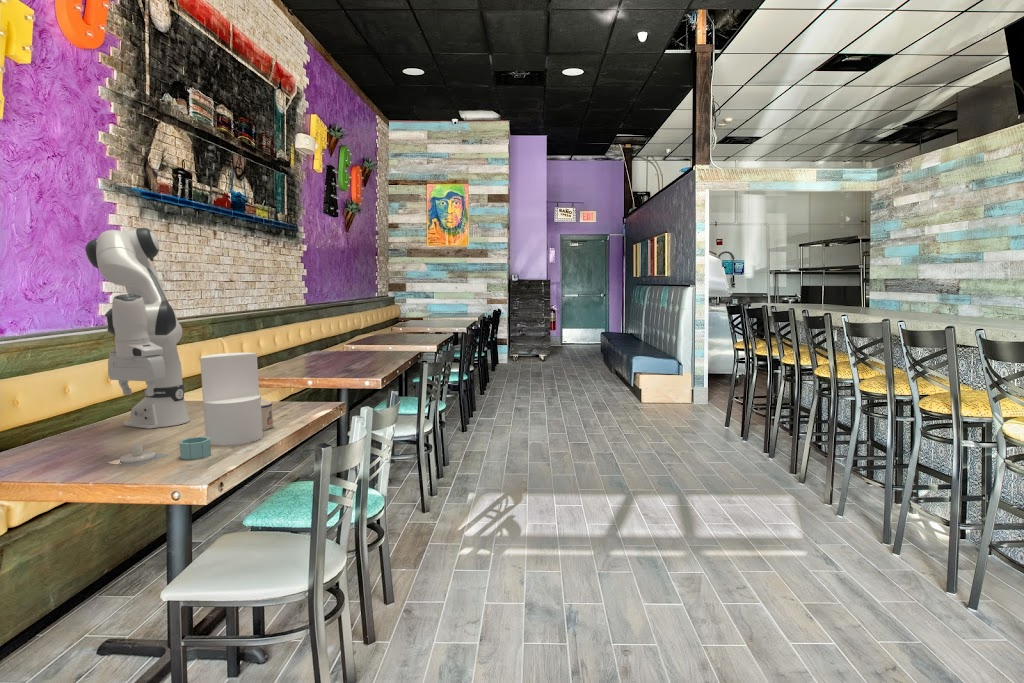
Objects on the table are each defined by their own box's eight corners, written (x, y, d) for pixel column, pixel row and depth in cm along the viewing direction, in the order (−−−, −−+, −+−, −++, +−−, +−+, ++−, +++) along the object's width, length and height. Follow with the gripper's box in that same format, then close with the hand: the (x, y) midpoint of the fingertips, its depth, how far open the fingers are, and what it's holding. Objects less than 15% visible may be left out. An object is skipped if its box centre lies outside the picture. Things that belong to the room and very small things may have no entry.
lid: (112, 462, 178) (110, 448, 177) (137, 453, 186) (136, 440, 186) (138, 463, 176) (136, 449, 175) (162, 455, 184) (161, 441, 184)
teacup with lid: (273, 429, 215) (272, 397, 214) (245, 432, 212) (243, 399, 211) (273, 422, 226) (271, 391, 225) (246, 425, 223) (244, 393, 222)
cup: (174, 459, 180) (173, 443, 180) (194, 452, 188) (193, 436, 188) (197, 461, 179) (196, 444, 178) (216, 453, 186) (215, 437, 186)
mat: (103, 464, 177) (103, 463, 177) (137, 452, 188) (137, 452, 188) (137, 466, 174) (137, 465, 174) (170, 455, 185) (170, 454, 185)
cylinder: (199, 439, 204) (194, 355, 201) (253, 430, 215) (248, 351, 212) (213, 449, 191) (208, 360, 188) (270, 439, 202) (265, 355, 199)
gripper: (99, 350, 182) (104, 396, 184) (147, 351, 174) (152, 398, 176) (119, 347, 188) (124, 392, 189) (167, 348, 180) (171, 394, 182)
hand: (138, 395), depth 183 cm, fingers open, 8 cm apart
